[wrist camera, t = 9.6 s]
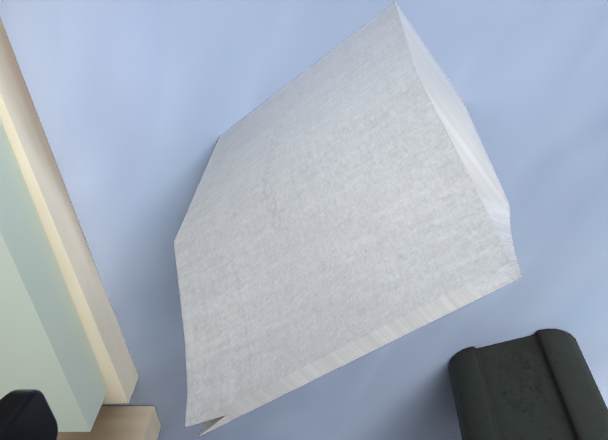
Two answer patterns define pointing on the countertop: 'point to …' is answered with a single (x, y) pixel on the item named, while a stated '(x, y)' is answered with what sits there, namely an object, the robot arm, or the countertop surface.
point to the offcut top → (40, 312)
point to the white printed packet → (335, 223)
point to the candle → (528, 391)
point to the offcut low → (63, 229)
